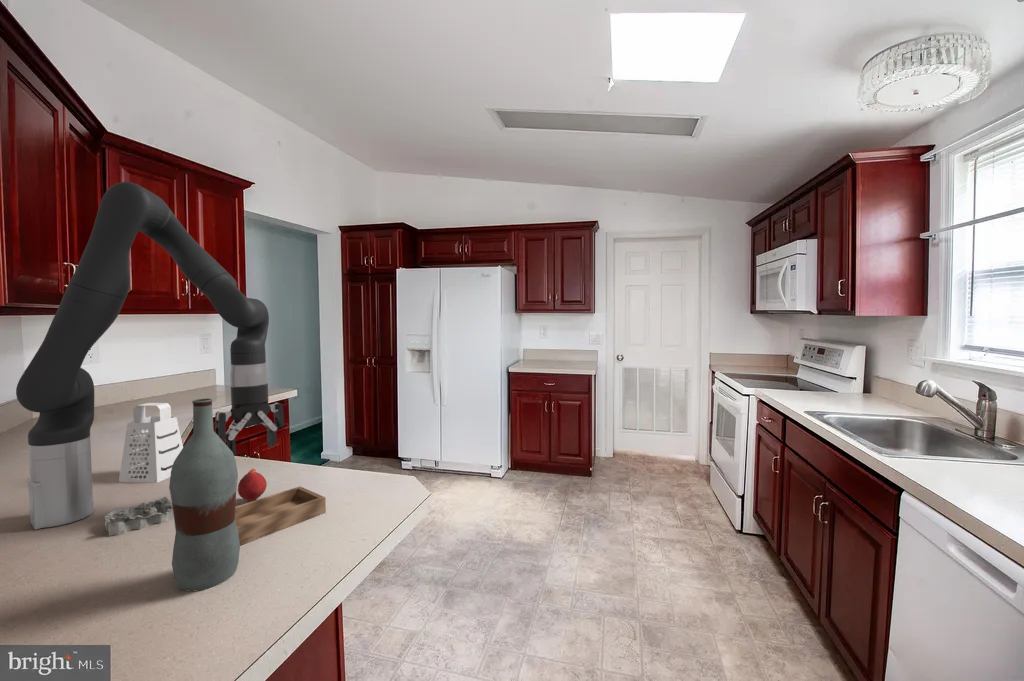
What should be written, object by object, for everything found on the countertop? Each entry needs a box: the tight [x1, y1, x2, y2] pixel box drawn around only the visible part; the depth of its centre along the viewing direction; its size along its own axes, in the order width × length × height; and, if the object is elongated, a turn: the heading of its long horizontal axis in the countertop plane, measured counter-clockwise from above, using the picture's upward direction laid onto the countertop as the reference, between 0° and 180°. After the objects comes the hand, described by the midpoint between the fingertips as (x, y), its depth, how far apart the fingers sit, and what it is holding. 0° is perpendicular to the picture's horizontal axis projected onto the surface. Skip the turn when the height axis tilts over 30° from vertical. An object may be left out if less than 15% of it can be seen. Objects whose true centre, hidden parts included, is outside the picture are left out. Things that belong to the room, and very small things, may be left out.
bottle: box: [168, 397, 241, 592], centre depth 71 cm, size 9×9×30 cm
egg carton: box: [104, 496, 173, 537], centre depth 91 cm, size 11×8×4 cm
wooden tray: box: [235, 486, 327, 546], centre depth 91 cm, size 20×11×4 cm, turn 144°
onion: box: [237, 467, 268, 502], centre depth 102 cm, size 6×6×8 cm
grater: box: [118, 402, 184, 484], centre depth 119 cm, size 10×10×20 cm
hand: (252, 450), depth 101 cm, fingers open, 8 cm apart
